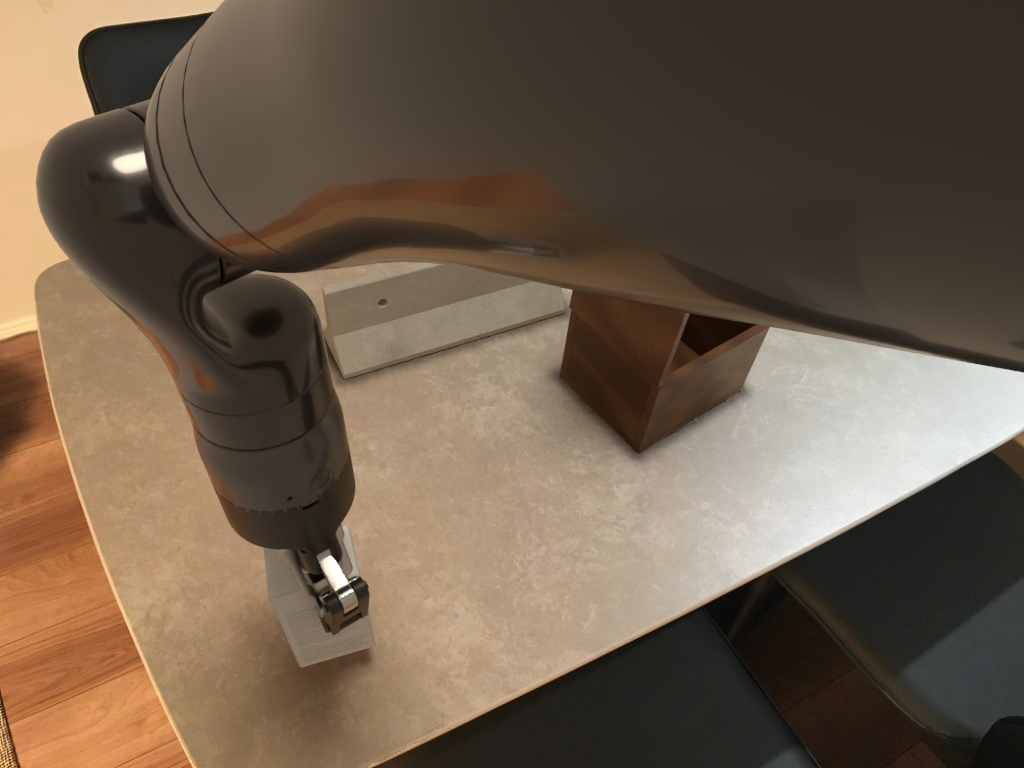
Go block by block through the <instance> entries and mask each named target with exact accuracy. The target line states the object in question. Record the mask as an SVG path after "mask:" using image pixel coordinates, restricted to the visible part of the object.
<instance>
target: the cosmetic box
mask: <svg viewBox="0 0 1024 768" xmlns="http://www.w3.org/2000/svg"><path fill="white" fill-rule="evenodd" d="M342 528H343V530H344V538H343V542H344V545H345V548H346V550H347V553H348V556H349V558H350V561H351V564H352V566H353V570H352V572H351V573H350V575H349V577H348V578H349V579H350V578H352V577H354V576H357V578H358V577H361V578H362V576H361V571H360V567H359V563H358V562H359V561H358V559H357V555H356V550H355V546H354V540H353V536H352V533H351V528H350V526H349V525H348V524H345V525H342ZM263 557H264V558H263V559H264V569H265V580H266V589H267V597H268V601H269V603H270V605H271V606H272V608H273V610H274V613H275V615H276V617H277V619H278V622H279V624H280V626H281V628H282V631H283V633H284V635H285V637H286V640H287V642H288V644H289V646H290V649H291V651H292V653H293V656H294V658H295V660H296V662H297V663H296V664H297V665H298V667H299V668H306V667H308V666H311V665H315V664H318V663H322V662H326V661H329V660H332V659H335V658H340V657H342V656H347V655H350V654H353V653H356V652H361V651H363V650H367V649H370V648H374V647H376V640H375V634H374V630H373V625H372V620H371V615H370V610H369V609H368V615H367V616H365V617H364V618H362V619H361V618H360V619H359V620H357V621H356V622H354V623H352V624H351V625H349V626H347V627H346V628H344V629H342V630H341V631H340V632H339V633H337V634H336V635H334V636H333V635H332V633H331V632H330V633H326V631H325V630H324V628H323V626H322V624H321V622H320V618H319V615H318V614H317V613H316V612H315V610H314V607H315V605H314V603H313V600H312V598H311V597H305V596H304V595H303V593H302V592H301V590H300V589H299V587H298V586H297V584H296V582H295V580H294V577H293V575H292V573H291V570H290V568H289V567H287V566H286V565H285V563H284V562H283V560H282V558H281V557H280V555H279V554H278V551H277V550H276V549H268V548H263ZM301 569H302V568H301ZM302 571H303V573H304V574H307V573H310V572H307V571H305V570H303V569H302ZM328 591H329V587H326V588H324V589H323V590H322V591H321V595H322V594H324V593H326V592H328Z"/></svg>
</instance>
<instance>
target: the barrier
mask: <svg viewBox="0 0 1024 768" xmlns="http://www.w3.org/2000/svg"><path fill="white" fill-rule="evenodd" d="M321 292H322V301H323V306H324V307H323V308H324V315H325V322H326V326H325V329H324V331H323V334H324V339H325V343H327V345H328V348H329V350H330V352H331V354H332V356H333V358H334V361H335V363H336V365H337V367H338V369H339V371H340V374H341V376H342V379H344V380H348V379H350V378H354V377H357V376H361V375H364V374H367V373H370V372H374V371H377V370H381V369H384V368H388V367H390V366H394V365H397V364H401V363H404V362H407V361H410V360H414V359H418V358H420V357H423V356H427V355H430V354H433V353H437V352H440V351H443V350H446V349H450V348H454V347H456V346H460V345H464V344H467V343H471V342H473V341H476V340H480V339H483V338H486V337H490V336H493V335H497V334H499V333H504V332H506V331H511V330H513V329H516V328H521V327H523V326H526V325H530V324H534V323H536V322H539V321H542V320H546V319H550V318H553V317H556V316H559V315H563V314H565V311H566V305H565V300H564V295H563V288H561V287H556V286H552V285H547V284H542V283H538V282H533V281H528V280H524V279H519V278H514V277H509V276H505V275H500V274H495V273H491V272H486V271H481V270H475V269H469V268H463V267H457V266H451V265H442V264H434V263H420V262H413V263H411V264H407V265H403V266H399V267H394V268H391V269H386V270H383V271H379V272H376V273H371V274H367V275H363V276H360V277H356V278H352V279H347V280H344V281H340V282H335V283H332V284H328V285H324V286H322V287H321Z"/></svg>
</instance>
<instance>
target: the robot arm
mask: <svg viewBox="0 0 1024 768" xmlns="http://www.w3.org/2000/svg"><path fill="white" fill-rule="evenodd" d="M35 188H36V200H37V205H38V208H39V211H40V214H41V216H42V220H43V222H44V224H45V226H46V228H47V229H48V232H49V234H50V235H51V236H52V238H53V239H54V241H55V242H56V244H57V245H58V247H59V248H60V249H61V251H62V252H63V253H64V255H66V256H67V258H68V259H69V260H70V262H71V263H72V264H73V265H74V267H76V268H77V269H78V270H79V271H80V272H81V274H83V275H84V277H85V278H86V279H88V280H89V281H90V282H91V283H92V284H93V285H94V287H96V289H98V290H99V292H101V293H102V294H103V295H104V296H105V297H106V298H107V299H108V300H109V301H110V302H111V303H112V304H114V306H116V308H118V309H119V310H120V311H121V312H122V313H123V314H124V315H125V316H126V317H127V318H129V320H130V321H131V322H132V323H133V324H134V325H135V326H136V327H137V329H138V330H139V331H140V332H141V333H142V335H144V337H145V338H146V339H147V340H148V341H149V342H150V344H151V345H152V346H153V348H154V349H155V351H156V352H157V354H158V355H159V356H160V358H161V360H162V361H163V363H164V365H165V366H166V368H167V370H168V371H169V374H170V375H171V378H172V381H173V383H174V385H175V388H176V390H177V392H178V394H179V397H180V399H181V402H182V404H183V407H184V409H185V411H186V414H187V416H188V418H189V421H190V423H191V426H192V431H193V436H194V441H195V445H196V449H197V452H198V455H199V457H200V459H201V462H202V464H203V466H204V469H205V471H206V473H207V475H208V478H209V480H210V483H211V485H212V487H213V490H214V492H215V494H216V497H217V498H218V501H219V503H220V507H222V510H223V513H224V515H225V517H226V519H227V522H228V523H229V525H230V527H231V528H232V529H233V530H234V532H235V533H236V534H237V535H238V536H239V537H241V538H242V539H243V540H245V541H246V542H248V543H250V544H252V545H254V546H257V547H260V548H262V549H264V548H268V549H276V550H277V551H278V554H279V555H280V557H281V558H282V560H283V562H284V563H285V565H286V566H287V567H289V568H290V570H291V573H292V575H293V577H294V580H295V582H296V584H297V586H298V587H299V589H300V590H301V592H302V593H303V595H304V596H305V597H311V598H312V600H313V603H314V605H315V607H314V610H315V612H316V613H317V614H318V615H319V618H320V622H321V624H322V626H323V628H324V630H325V631H326V633H330V632H331V633H332V635H333V636H334V635H336V634H337V633H339V632H340V631H341V630H342V629H344V628H346V627H347V626H349V625H351V624H352V623H354V622H356V621H357V620H359V619H360V618H361V619H362V618H364V617H365V616H367V615H368V610H369V605H370V594H371V593H370V587H369V584H368V583H367V581H366V580H364V579H363V578H362V576H361V577H358V578H357V576H354V577H352V578H350V579H349V578H348V577H349V575H350V573H351V572H352V570H353V566H352V564H351V561H350V558H349V556H348V553H347V550H346V548H345V545H344V542H343V538H344V530H343V528H342V526H343V525H342V524H343V522H344V521H345V519H346V517H347V515H348V514H349V512H350V510H351V508H352V506H353V503H354V501H355V500H354V499H355V495H356V477H355V472H354V466H353V461H352V455H351V449H350V444H349V438H348V433H347V432H348V431H347V427H346V421H345V416H344V411H343V407H342V404H341V401H340V398H339V396H338V393H337V391H336V388H335V386H334V382H333V377H332V371H331V366H330V360H329V356H328V350H327V345H326V339H325V337H324V330H323V325H322V321H321V318H320V316H319V313H318V310H317V308H316V306H315V304H314V302H313V300H312V299H311V297H310V296H309V295H308V294H307V293H306V292H305V291H304V290H303V289H302V288H301V287H300V286H298V285H297V284H295V283H294V282H292V281H290V280H288V279H286V278H283V277H280V276H276V275H271V274H265V273H274V274H300V273H301V274H303V273H311V272H321V271H329V270H337V269H338V270H339V269H347V268H355V267H362V266H369V265H376V264H389V263H390V264H391V263H418V262H420V263H434V264H442V265H451V266H457V267H463V268H469V269H475V270H481V271H486V272H491V273H495V274H500V275H505V276H509V277H514V278H519V279H524V280H528V281H533V282H538V283H542V284H547V285H552V286H556V287H561V289H567V290H571V291H573V290H575V291H580V292H584V293H589V294H594V295H598V296H603V297H609V298H614V299H619V300H624V301H629V302H634V303H639V304H644V305H649V306H654V307H659V308H665V309H670V310H675V311H680V312H685V313H691V314H697V315H703V316H709V317H715V318H721V319H727V320H733V321H739V322H744V323H750V324H756V325H762V326H768V327H770V328H775V329H780V330H786V331H791V332H796V333H797V332H798V333H803V334H808V335H814V336H819V337H825V338H830V339H836V340H840V341H846V342H847V341H848V342H853V343H856V344H857V343H858V344H863V345H869V346H875V347H880V348H884V349H891V350H896V351H902V352H907V353H912V354H918V355H923V356H928V357H935V358H940V359H945V360H950V361H957V362H963V363H967V364H974V365H980V366H984V367H991V368H996V369H1001V370H1008V371H1011V372H1012V371H1013V372H1019V373H1024V0H223V1H222V2H221V3H220V4H219V6H217V8H216V9H215V10H214V11H213V12H212V13H211V15H210V16H209V17H208V18H207V19H206V21H205V22H204V23H203V24H202V25H201V27H199V28H198V30H197V31H196V32H195V33H194V34H193V35H192V37H191V38H190V39H189V40H188V41H187V42H186V43H185V44H184V46H183V47H182V48H181V49H180V51H178V53H177V54H176V55H175V56H174V57H173V59H172V60H171V61H170V63H169V64H168V65H167V67H166V68H165V70H164V71H163V73H162V75H161V77H159V80H158V82H157V83H156V86H155V88H154V91H153V92H152V95H151V97H150V98H149V99H145V100H143V101H139V102H136V103H133V104H130V105H127V106H123V107H122V108H115V109H112V110H110V111H106V112H103V113H100V114H97V115H93V116H91V117H90V116H89V117H87V118H83V119H82V120H79V121H76V122H72V123H71V124H69V125H67V126H65V127H63V128H62V129H60V130H58V131H57V132H56V133H55V134H54V135H52V136H51V137H50V139H48V141H47V143H46V145H45V146H44V148H43V149H42V151H41V155H40V158H39V160H38V164H37V170H36V176H35ZM256 271H257V272H263V273H254V272H256ZM301 568H302V569H303V570H305V571H307V572H310V573H307V574H304V573H303V571H302V569H301ZM326 587H329V591H328V592H326V593H324V594H322V595H321V591H322V590H323V589H324V588H326Z"/></svg>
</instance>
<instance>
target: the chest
mask: <svg viewBox="0 0 1024 768" xmlns="http://www.w3.org/2000/svg"><path fill="white" fill-rule="evenodd" d="M568 319H569V320H568V325H567V332H566V337H565V344H564V348H563V353H562V361H561V366H560V371H559V377H560V378H561V379H562V380H563V381H564V382H565V383H566V384H567V385H568V386H569V387H570V388H571V389H572V390H573V391H574V392H575V393H577V395H578V396H579V397H580V398H581V399H582V400H583V401H585V403H586V404H587V405H588V406H589V407H590V408H592V410H593V411H594V412H596V414H598V416H599V417H600V418H602V420H603V421H605V423H607V424H608V425H609V426H610V428H612V430H613V431H615V432H616V433H617V434H618V435H619V437H621V439H623V440H624V441H625V443H627V444H628V445H629V447H631V449H633V450H634V451H635V453H637V454H640V453H642V452H643V451H645V450H647V449H648V448H650V447H651V446H653V445H655V444H656V443H658V442H659V441H661V440H663V439H664V438H666V437H667V436H669V435H671V434H673V433H674V432H676V431H677V430H679V429H681V428H682V427H684V426H685V425H687V424H689V423H690V422H692V421H694V420H695V419H697V418H699V417H700V416H702V415H703V414H705V413H706V412H708V411H710V410H711V409H713V408H715V407H716V406H718V405H720V404H721V403H723V402H725V401H726V400H728V399H729V398H731V397H733V396H735V395H736V394H738V393H739V392H741V391H742V389H743V387H744V384H745V382H746V381H747V378H748V376H749V375H750V372H751V369H752V367H753V365H754V363H755V361H756V359H757V356H758V354H759V352H760V350H761V347H762V345H763V344H764V341H765V339H766V337H767V334H768V332H769V330H770V328H771V327H768V326H762V325H756V324H750V323H744V322H739V321H733V320H727V319H721V318H715V317H709V316H703V315H697V314H691V313H690V314H689V317H688V320H687V322H686V325H685V328H684V330H683V333H682V336H681V338H680V341H679V344H678V346H677V349H676V352H675V354H674V357H673V360H672V362H671V365H670V368H669V370H668V373H667V375H666V378H665V381H664V383H663V385H662V386H660V387H658V388H657V387H656V386H655V385H654V384H652V383H651V382H650V381H649V380H648V379H647V378H646V377H645V376H644V375H643V374H641V373H640V372H639V371H638V370H637V369H636V368H635V367H634V366H633V365H632V364H630V363H629V362H628V361H627V360H626V359H625V358H624V357H623V356H622V355H620V354H619V353H618V352H617V351H616V350H615V349H614V348H613V347H612V346H611V345H609V344H608V343H607V342H606V341H605V340H604V339H603V338H602V337H601V336H600V335H598V334H597V333H596V332H595V331H594V330H593V329H592V328H591V327H590V326H589V325H587V324H586V323H585V322H584V321H583V320H582V319H581V318H580V317H579V316H578V315H576V314H575V313H574V312H573V311H572V310H571V309H570V315H569V318H568Z"/></svg>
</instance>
